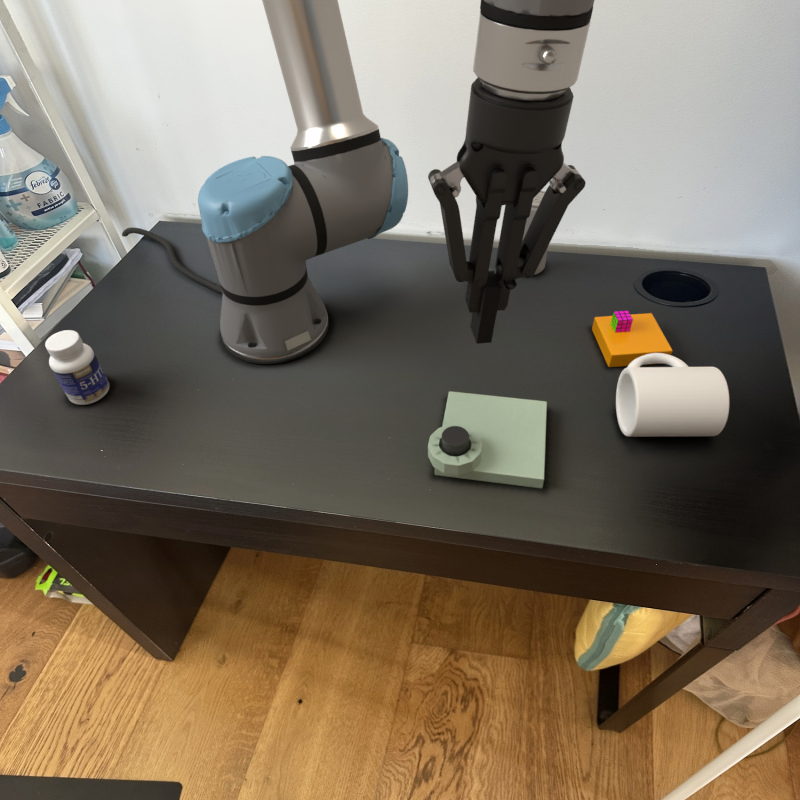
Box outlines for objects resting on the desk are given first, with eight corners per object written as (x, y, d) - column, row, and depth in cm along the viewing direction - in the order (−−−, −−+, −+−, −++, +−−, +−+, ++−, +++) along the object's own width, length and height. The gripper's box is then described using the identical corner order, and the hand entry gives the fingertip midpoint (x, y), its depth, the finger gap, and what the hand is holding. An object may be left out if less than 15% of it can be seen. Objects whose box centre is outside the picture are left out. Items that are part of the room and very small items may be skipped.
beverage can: (547, 262, 100) (557, 192, 91) (541, 279, 97) (552, 208, 88) (517, 258, 101) (524, 188, 92) (510, 274, 98) (518, 203, 89)
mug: (713, 450, 72) (737, 402, 66) (625, 450, 72) (642, 402, 67) (683, 378, 80) (702, 329, 75) (604, 379, 81) (617, 331, 75)
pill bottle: (94, 409, 80) (65, 357, 74) (60, 402, 82) (29, 350, 75) (118, 381, 84) (93, 330, 78) (85, 375, 85) (57, 323, 79)
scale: (425, 480, 70) (424, 461, 68) (441, 399, 79) (441, 379, 77) (541, 495, 68) (546, 476, 66) (545, 410, 77) (548, 390, 75)
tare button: (439, 454, 69) (439, 444, 68) (443, 434, 71) (443, 424, 70) (467, 458, 68) (467, 447, 67) (470, 437, 70) (470, 427, 69)
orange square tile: (647, 325, 88) (655, 300, 85) (668, 363, 82) (677, 338, 79) (591, 329, 88) (597, 304, 85) (608, 367, 82) (614, 343, 79)
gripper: (446, 102, 42) (423, 364, 59) (628, 100, 44) (555, 354, 61) (426, 65, 47) (410, 315, 64) (589, 64, 49) (532, 307, 66)
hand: (480, 334), depth 62 cm, fingers closed
